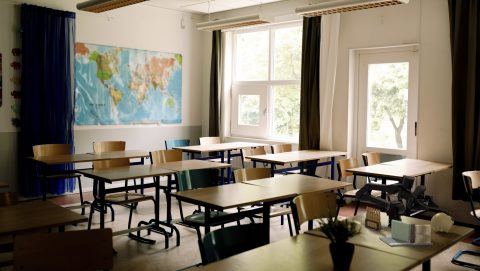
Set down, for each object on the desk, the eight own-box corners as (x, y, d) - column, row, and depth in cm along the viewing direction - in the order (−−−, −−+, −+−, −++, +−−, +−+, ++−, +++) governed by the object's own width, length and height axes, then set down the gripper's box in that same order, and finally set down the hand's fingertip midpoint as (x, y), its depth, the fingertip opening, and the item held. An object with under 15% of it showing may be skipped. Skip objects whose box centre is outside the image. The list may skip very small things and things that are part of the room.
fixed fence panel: (428, 241, 238) (429, 222, 238) (430, 243, 236) (431, 223, 235) (409, 242, 237) (409, 223, 236) (411, 243, 235) (411, 224, 234)
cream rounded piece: (457, 232, 257) (458, 213, 256) (442, 235, 251) (443, 215, 251) (441, 228, 266) (442, 209, 265) (427, 230, 260) (427, 212, 259)
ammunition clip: (364, 226, 268) (365, 206, 267) (366, 226, 269) (367, 205, 268) (378, 231, 259) (379, 210, 258) (381, 231, 260) (381, 209, 259)
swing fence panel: (409, 241, 238) (410, 223, 237) (408, 241, 237) (408, 224, 236) (392, 236, 246) (393, 219, 245) (391, 237, 245) (391, 220, 244)
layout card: (419, 236, 249) (419, 235, 249) (432, 244, 235) (432, 243, 235) (378, 238, 246) (378, 237, 246) (390, 246, 232) (390, 245, 232)
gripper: (402, 184, 253) (427, 196, 241) (423, 181, 263) (448, 192, 251) (397, 203, 256) (421, 216, 244) (418, 199, 266) (442, 211, 254)
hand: (434, 208), depth 248 cm, fingers open, 9 cm apart
